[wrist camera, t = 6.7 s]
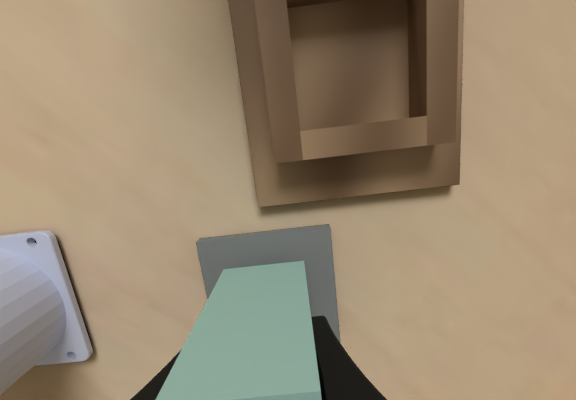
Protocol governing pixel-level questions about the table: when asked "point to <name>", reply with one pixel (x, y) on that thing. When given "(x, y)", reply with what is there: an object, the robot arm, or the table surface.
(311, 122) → the pocket board
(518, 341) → the table surface
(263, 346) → the block
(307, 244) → the pad
